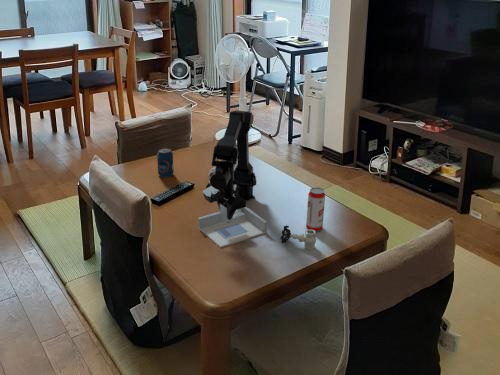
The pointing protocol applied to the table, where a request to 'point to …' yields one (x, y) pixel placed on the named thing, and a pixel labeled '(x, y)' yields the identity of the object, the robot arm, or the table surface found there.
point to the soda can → (165, 162)
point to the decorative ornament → (211, 172)
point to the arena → (232, 227)
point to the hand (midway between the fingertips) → (225, 216)
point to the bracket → (237, 215)
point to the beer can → (315, 209)
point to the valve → (300, 237)
